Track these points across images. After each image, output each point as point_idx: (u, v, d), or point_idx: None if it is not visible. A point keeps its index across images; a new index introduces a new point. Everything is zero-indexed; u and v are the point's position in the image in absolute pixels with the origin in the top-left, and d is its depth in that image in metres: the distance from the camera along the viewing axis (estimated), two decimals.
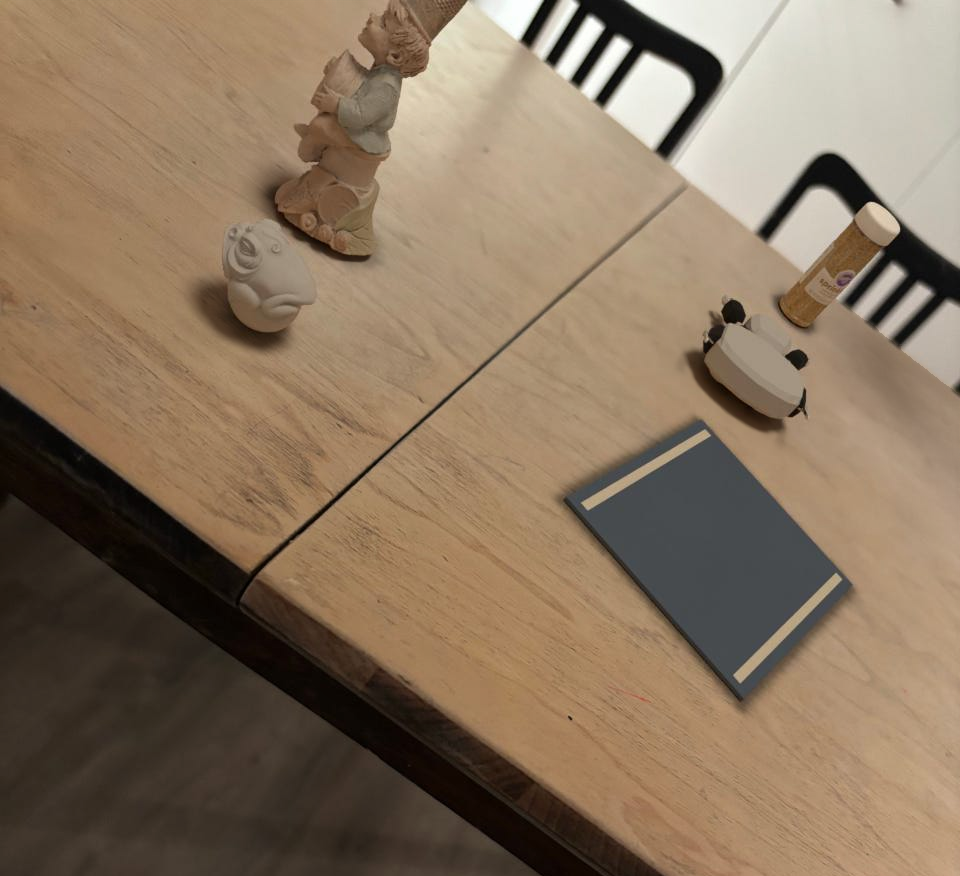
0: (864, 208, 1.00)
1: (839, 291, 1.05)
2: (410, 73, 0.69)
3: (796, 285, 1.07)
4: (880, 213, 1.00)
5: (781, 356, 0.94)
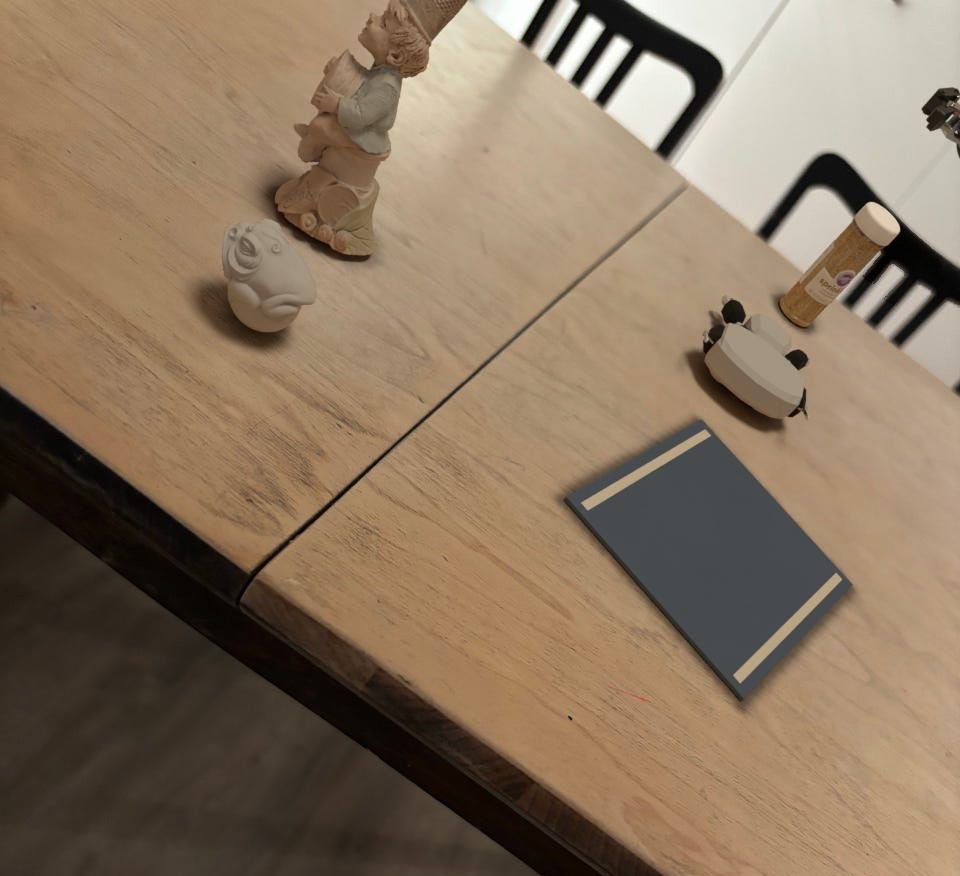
0: (864, 208, 1.00)
1: (839, 291, 1.05)
2: (410, 73, 0.69)
3: (796, 285, 1.07)
4: (880, 213, 1.00)
5: (781, 356, 0.94)
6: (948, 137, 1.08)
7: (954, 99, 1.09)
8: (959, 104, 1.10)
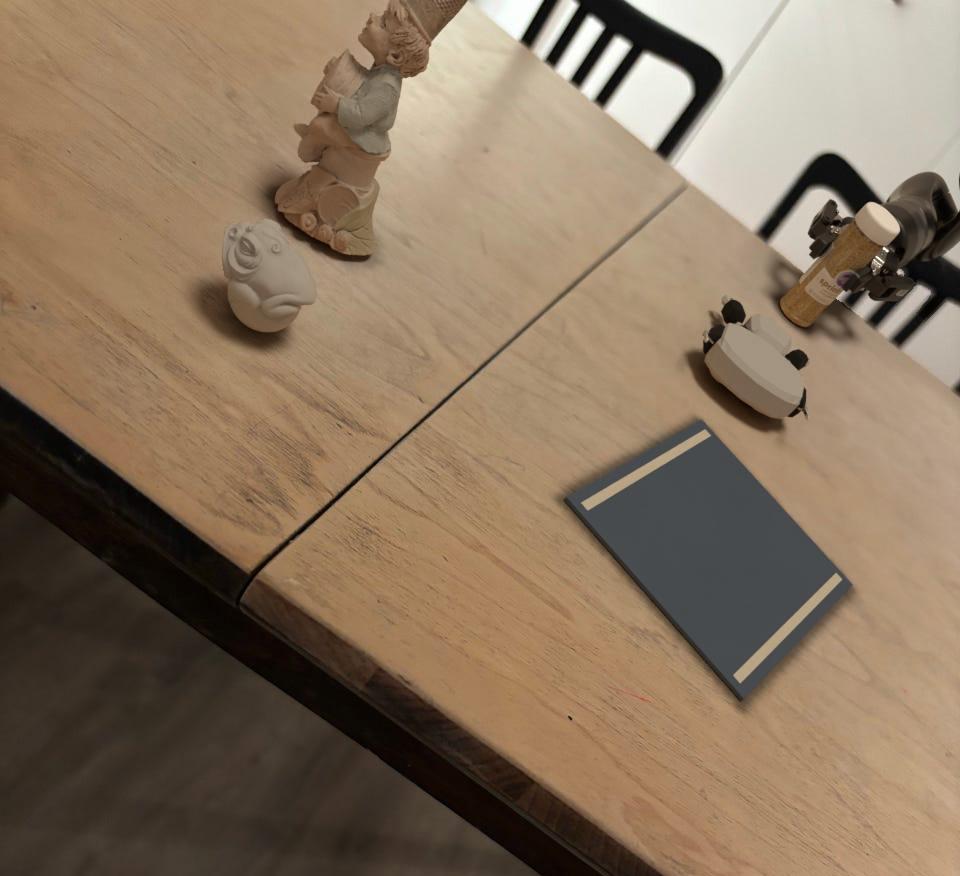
0: (864, 208, 1.00)
1: (839, 291, 1.05)
2: (410, 73, 0.69)
3: (796, 285, 1.07)
4: (880, 213, 1.00)
5: (781, 356, 0.94)
6: None
7: None
8: (837, 214, 1.10)
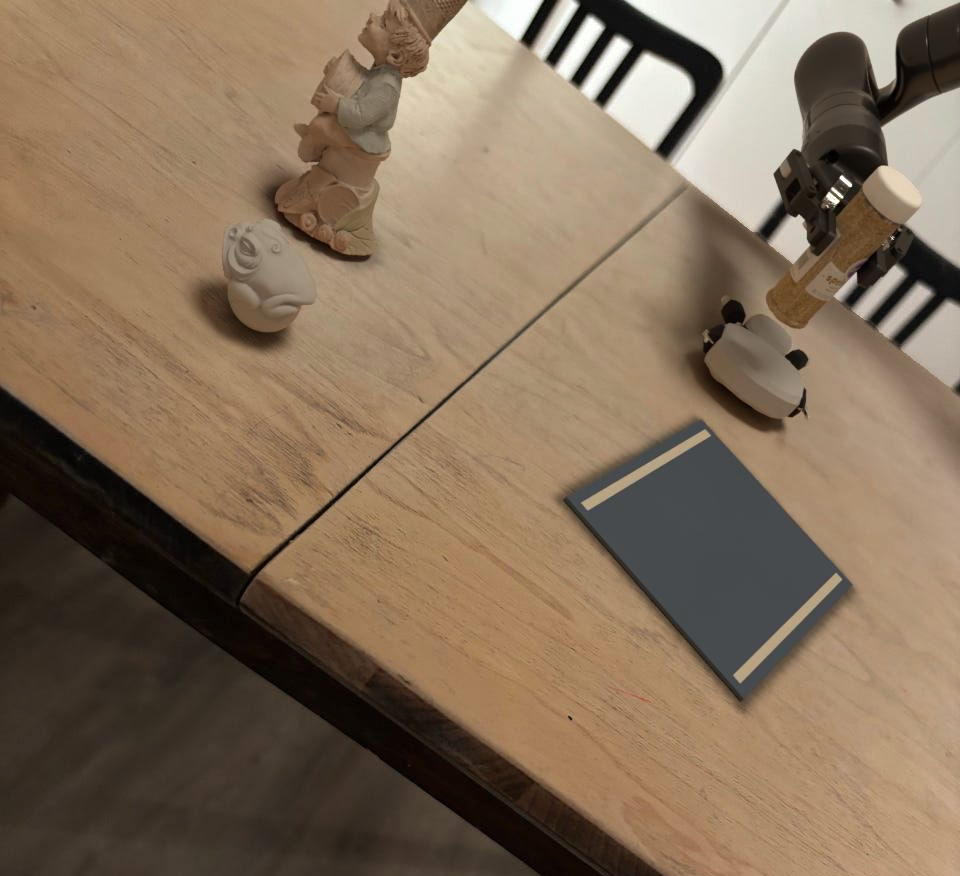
0: (879, 182, 0.75)
1: None
2: (410, 73, 0.69)
3: (790, 284, 0.83)
4: (898, 183, 0.76)
5: (781, 356, 0.94)
6: None
7: None
8: None
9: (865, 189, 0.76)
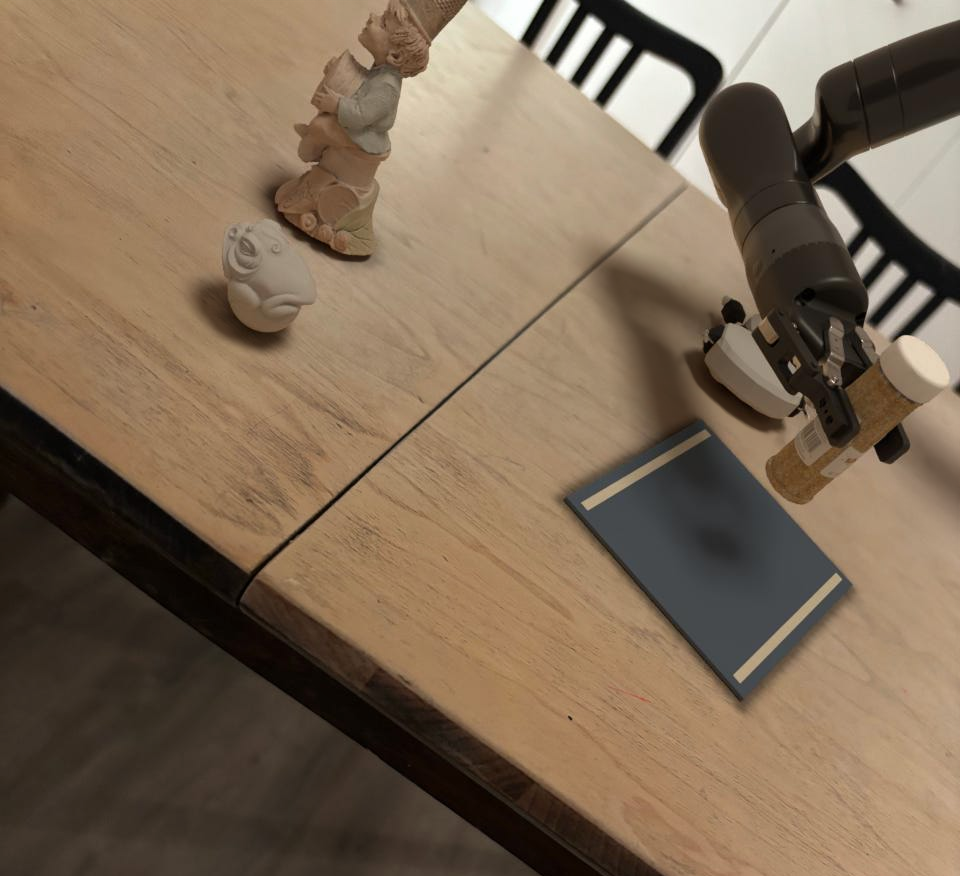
0: (907, 369, 0.63)
1: None
2: (410, 73, 0.69)
3: (799, 466, 0.71)
4: (924, 361, 0.64)
5: None
6: None
7: None
8: None
9: (888, 373, 0.64)
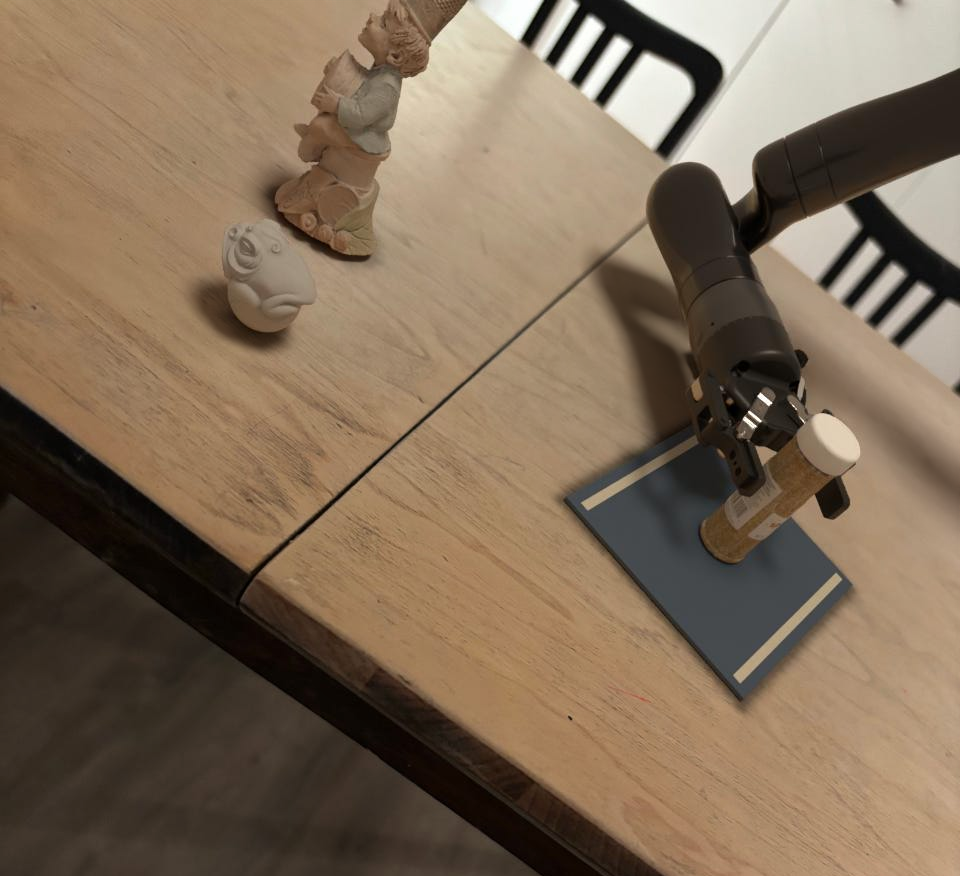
0: (819, 445, 0.69)
1: None
2: (410, 73, 0.69)
3: (729, 530, 0.77)
4: (835, 438, 0.70)
5: None
6: None
7: None
8: None
9: (803, 449, 0.70)
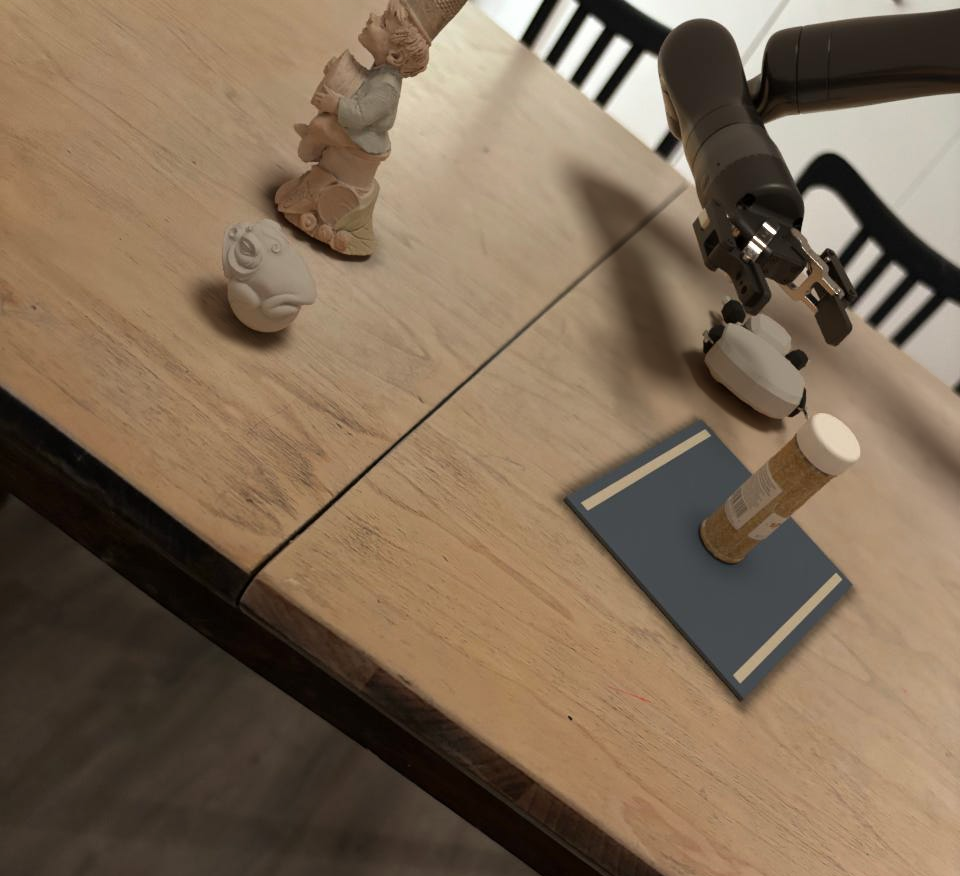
0: (819, 445, 0.69)
1: None
2: (410, 73, 0.69)
3: (729, 529, 0.77)
4: (835, 438, 0.70)
5: (781, 356, 0.94)
6: None
7: None
8: None
9: (803, 449, 0.70)
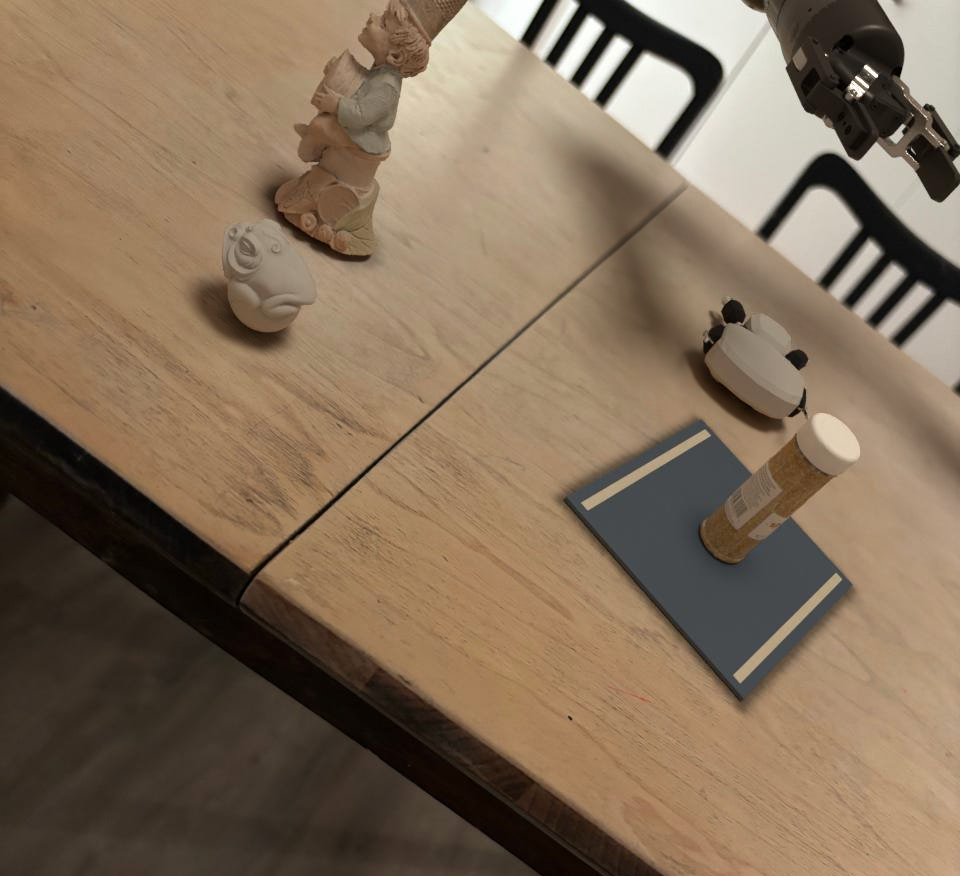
0: (819, 445, 0.69)
1: None
2: (410, 73, 0.69)
3: (729, 529, 0.77)
4: (835, 438, 0.70)
5: (781, 356, 0.94)
6: None
7: None
8: None
9: (803, 448, 0.70)
